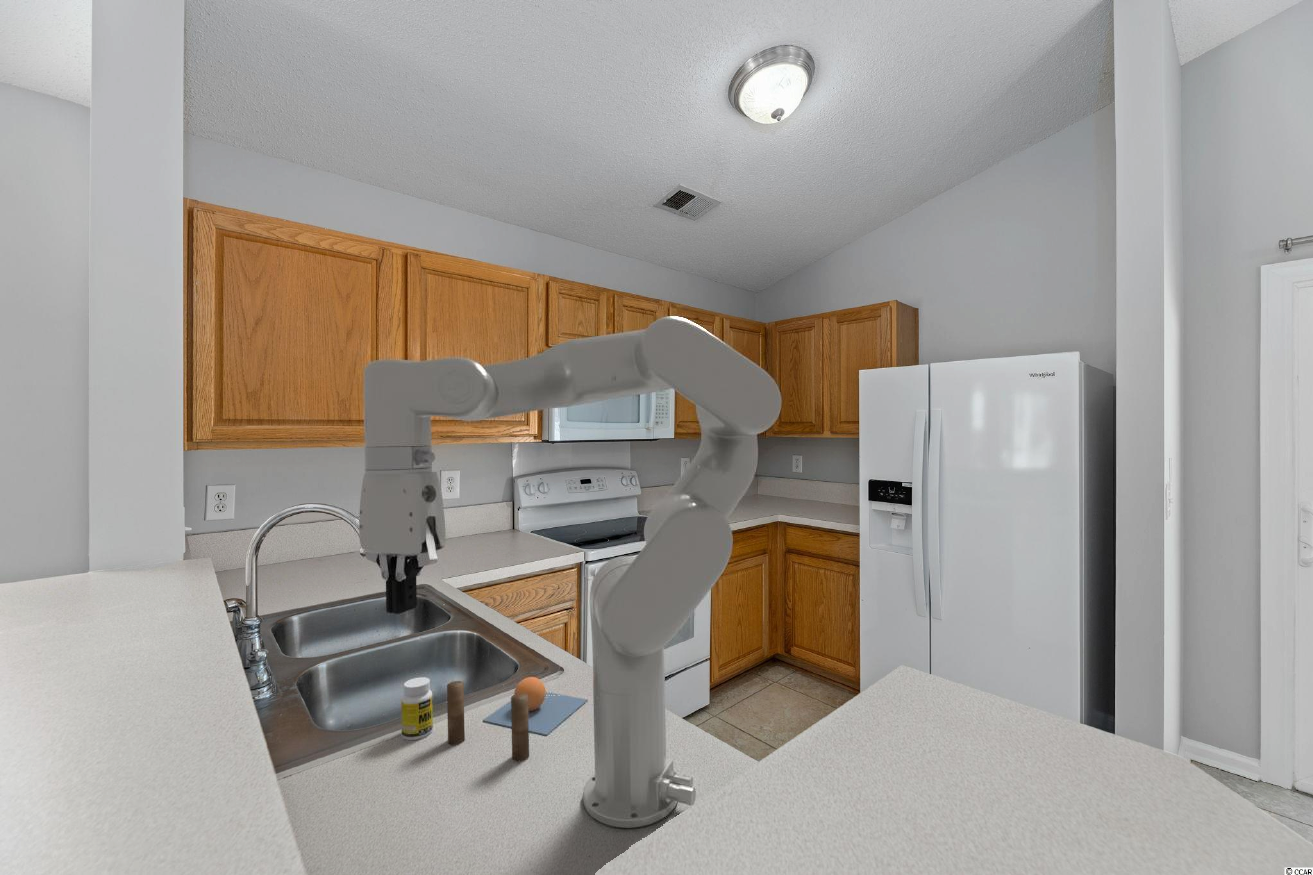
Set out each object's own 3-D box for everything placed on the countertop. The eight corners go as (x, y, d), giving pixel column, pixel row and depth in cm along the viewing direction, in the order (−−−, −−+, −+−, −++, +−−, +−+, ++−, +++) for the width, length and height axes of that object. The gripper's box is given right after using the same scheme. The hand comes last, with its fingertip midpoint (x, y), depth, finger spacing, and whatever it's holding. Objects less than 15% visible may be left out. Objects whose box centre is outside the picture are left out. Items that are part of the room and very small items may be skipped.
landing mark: (587, 700, 102) (587, 699, 102) (546, 735, 90) (546, 734, 90) (528, 689, 107) (528, 688, 107) (482, 721, 96) (482, 720, 96)
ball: (545, 674, 99) (532, 704, 95) (554, 689, 102) (541, 719, 98) (518, 668, 101) (504, 698, 97) (528, 683, 104) (514, 713, 100)
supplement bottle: (421, 742, 89) (420, 689, 89) (395, 739, 90) (394, 687, 90) (438, 727, 94) (438, 676, 94) (413, 724, 95) (412, 675, 95)
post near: (532, 753, 85) (531, 694, 85) (522, 762, 83) (521, 701, 83) (519, 750, 86) (517, 692, 86) (508, 759, 84) (507, 699, 84)
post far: (468, 738, 90) (466, 682, 90) (456, 746, 88) (455, 688, 88) (456, 735, 91) (454, 679, 91) (444, 743, 89) (443, 686, 89)
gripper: (468, 459, 70) (470, 607, 69) (381, 460, 75) (383, 596, 75) (420, 462, 63) (423, 626, 63) (329, 462, 69) (331, 613, 68)
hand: (401, 610), depth 69 cm, fingers closed
